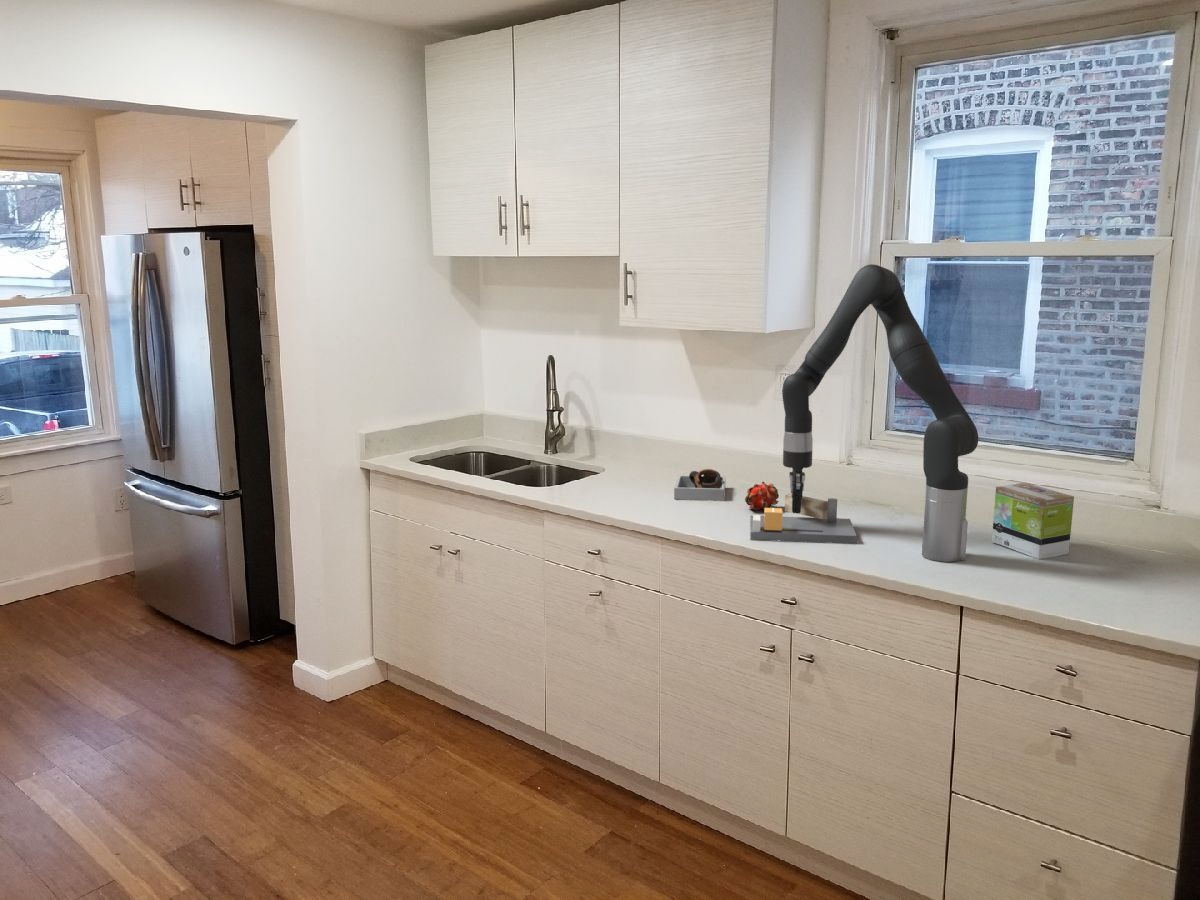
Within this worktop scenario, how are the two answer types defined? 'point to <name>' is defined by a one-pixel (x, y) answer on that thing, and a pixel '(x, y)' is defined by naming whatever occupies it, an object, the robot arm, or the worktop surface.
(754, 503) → the dragon fruit
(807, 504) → the gate arm
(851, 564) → the worktop surface
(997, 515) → the tea box
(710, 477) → the pottery mug
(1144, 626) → the worktop surface
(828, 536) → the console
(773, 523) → the fader knob
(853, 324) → the robot arm
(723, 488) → the tray
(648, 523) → the worktop surface
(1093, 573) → the worktop surface
